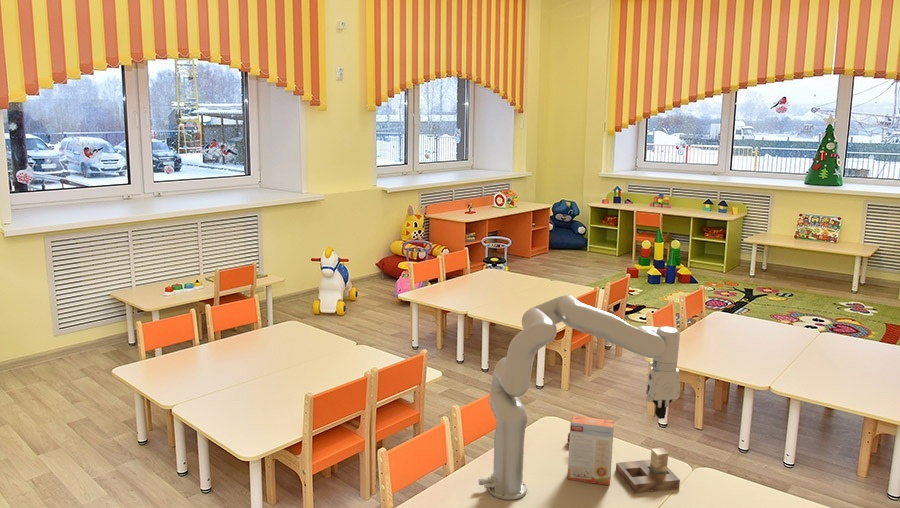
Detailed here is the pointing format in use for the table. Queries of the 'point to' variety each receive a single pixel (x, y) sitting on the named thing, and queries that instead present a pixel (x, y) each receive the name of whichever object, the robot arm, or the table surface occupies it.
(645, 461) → the peg board
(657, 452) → the peg
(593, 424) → the cracker box
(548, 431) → the table surface
